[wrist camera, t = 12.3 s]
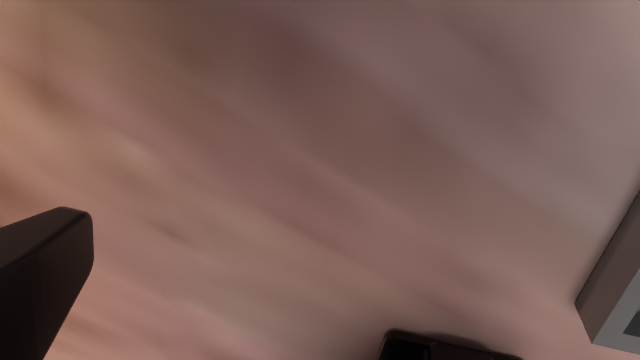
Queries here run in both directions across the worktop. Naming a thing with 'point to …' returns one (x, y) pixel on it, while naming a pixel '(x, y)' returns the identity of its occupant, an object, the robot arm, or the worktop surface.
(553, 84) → the worktop surface
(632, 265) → the parts tray
